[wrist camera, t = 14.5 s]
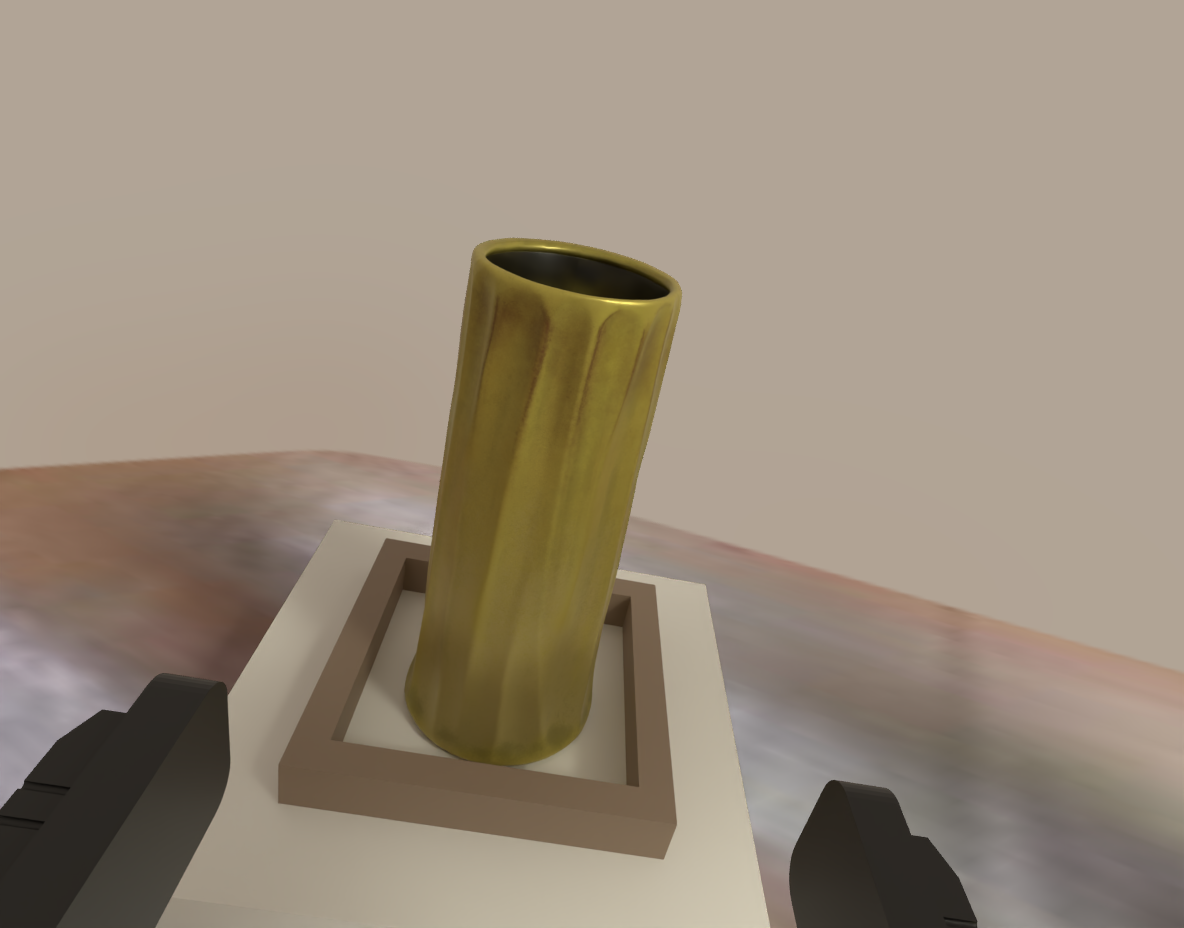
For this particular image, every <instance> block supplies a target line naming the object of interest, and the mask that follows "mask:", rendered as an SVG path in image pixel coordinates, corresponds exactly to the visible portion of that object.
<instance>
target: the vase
mask: <svg viewBox="0 0 1184 928" xmlns="http://www.w3.org/2000/svg"><path fill="white" fill-rule="evenodd" d="M681 298H682V290H681V288H680V286H679V284H678V282H677V281H676V280H675V279H674V278H672V277H671V276H669V275H668V274H666V273H664V272H662V271H660V270H658V269H656V268H654V267H652V266H650V265H648V264H646V263H644V262H641V261H638V260H635V259H632V258H629V257H626V256H623V255H620V254H616V253H613V252H609V251H606V250H602V249H597V248H593V247H588V246H583V245H578V244H573V243H566V242H560V241H551V240H541V239H526V238H505V239H497V240H489V241H486V242H483V243H480V244H479V245H477V246H476V248H475V249H474V250H473V254H472V258H471V268H470V273H469V279H468V285H467V291H466V297H465V304H464V311H463V319H462V326H461V334H460V344H459V353H458V362H457V370H456V378H455V385H454V392H453V398H452V403H451V409H450V415H449V422H448V429H447V436H446V443H445V450H444V457H443V465H442V471H441V478H440V485H439V491H438V499H437V506H436V513H435V521H434V528H433V535H432V542H431V549H430V557H429V565H428V573H427V582H426V591H425V608H424V613H423V618H422V624H421V630H420V635H419V640H418V645H417V651H416V654H415V656H414V658H413V660H412V662H411V664H410V667H409V670H408V673H407V676H406V681H405V690H404V692H405V700H406V704H407V707H408V710H409V712H410V714H411V716H412V718H413V719H414V721H415V723H416V724H417V725H418V727H419V728H420V729H421V731H422V732H423V733H424V734H425V735H426V736H427V737H428V738H429V739H430V740H431V741H432V742H433V743H435V744H436V745H438V746H439V747H441V748H442V749H444V750H445V751H447V752H449V753H451V754H453V755H455V756H458V757H460V758H463V759H466V760H468V761H472V762H478V763H485V764H491V765H498V766H514V765H523V764H529V763H533V762H537V761H540V760H543V759H546V758H548V757H550V756H552V755H554V754H556V753H557V752H559V751H561V750H563V749H564V748H565V747H567V746H568V745H569V744H570V743H571V742H573V741H574V740H575V739H576V738H577V737H578V735H579V734H580V733H581V731H582V729H583V727H584V725H585V723H586V721H587V718H588V715H589V712H590V708H591V702H592V687H593V676H594V668H595V662H596V657H597V652H598V647H599V643H600V638H601V633H602V628H603V624H604V620H605V616H606V613H607V609H608V605H609V602H610V598H611V595H612V591H613V587H614V583H615V579H616V575H617V570H618V566H619V561H620V557H621V552H622V548H623V543H624V539H625V534H626V530H627V526H628V521H629V516H630V512H631V507H632V502H633V497H634V493H635V488H636V482H637V477H638V473H639V470H640V466H641V462H642V459H643V455H644V452H645V449H646V445H647V442H648V438H649V434H650V430H651V426H652V422H653V418H654V413H655V410H656V406H657V402H658V397H659V393H660V390H661V385H662V381H663V377H664V373H665V369H666V365H667V361H668V357H669V353H670V349H671V344H672V340H673V336H674V332H675V327H676V323H677V319H678V316H679V312H680V306H681Z"/></svg>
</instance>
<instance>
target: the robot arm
mask: <svg viewBox="0 0 1184 928" xmlns="http://www.w3.org/2000/svg"><path fill="white" fill-rule="evenodd" d="M230 761H231V758H230V738H229V717H228V696H227V688H226V685H225V684H224V683H223V682H219V681H212V680H206V679H200V678H193V677H187V676H180V675H174V674H168V673H162V674H159V675H157V676H156V677H155V678H154V679H153V680H152V681H151V682H150V683H149V684H148V685H147V687H146V688H145V689H144V691H143V692H142V693H141V695H140V696H139V697H138V699H137V700H136V701H135V703H134V704H133V705H132V707H131V708H130V709H129V711H128V712H127V713H122V712H115V711H109V710H101V711H100V712H98V713H97V714H95V715H94V716H92V717H91V718H89V719H88V720H86V721H85V722H84V723H82V724H81V725H79V726H78V727H76V728H75V729H73V730H72V731H70V732H69V733H67V734H66V735H65V736H63V737H62V738H60V739H59V740H57V741H56V743H55V744H54V745H53V746H52V747H51V749H50V750H49V751H48V752H47V754H46V755H45V756H44V757H43V758H42V760H41V761H40V762H39V763H38V764H37V766H36V767H35V768H34V769H33V770H32V772H31V773H30V774H29V775H28V777H27V778H26V779H25V780H24V785H23V787H22V788H21V789H17V790H16V791H15V792H14V794H13V795H12V796H11V797H10V798H9V800H8V801H7V802H6V803H5V804H4V806H3V807H2V808H1V809H0V928H155V927H156V925H157V924H158V922H159V920H160V918H161V916H162V914H163V912H164V910H165V908H166V907H167V905H168V903H169V901H170V899H171V897H172V895H173V893H174V892H175V890H176V888H177V886H178V884H179V882H180V880H181V878H182V876H183V875H184V873H185V871H186V869H187V867H188V865H189V863H190V861H191V859H192V858H193V856H194V854H195V852H196V850H197V848H198V846H199V844H200V843H201V841H202V839H203V837H204V835H205V833H206V831H207V829H208V827H209V826H210V824H211V822H212V820H213V818H214V816H215V814H216V812H217V810H218V808H219V806H220V803H221V801H222V798H223V795H224V792H225V789H226V785H227V782H228V777H229V772H230ZM789 884H790V895H791V901H792V906H793V910H794V915H795V920H796V924H797V928H977V919H976V917H975V915H974V912H973V910H972V908H971V905H970V903H969V901H968V898H967V896H966V894H965V891H964V889H963V887H962V884H961V882H960V880H959V877H958V876H957V875H956V874H955V872H954V871H953V870H952V868H951V867H950V866H949V865H948V863H947V862H946V861H945V859H944V858H943V857H942V856H941V854H940V853H939V852H938V851H937V849H936V848H935V847H934V845H933V844H932V843H931V842H930V840H929V839H928V838H926V837H920V836H913V835H911V833H910V831H909V828H908V826H907V823H906V820H905V818H904V815H903V813H902V810H901V808H900V805H899V803H898V801H897V799H896V797H895V795H894V794H893V793H892V792H891V791H890V790H889V789H887V788H882V787H876V786H869V785H863V784H857V783H850V782H844V781H837V780H831V781H830V782H828V783H827V784H826V786H825V787H824V789H823V791H822V793H821V795H820V797H819V799H818V801H817V803H816V805H815V807H814V809H813V811H812V813H811V815H810V817H809V819H808V821H807V823H806V825H805V827H804V829H803V831H802V833H801V835H800V837H799V839H798V841H797V843H796V845H795V847H794V850H793V853H792V857H791V863H790V873H789Z"/></svg>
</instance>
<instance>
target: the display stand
mask: <svg viewBox="0 0 1184 928" xmlns="http://www.w3.org/2000/svg"><path fill="white" fill-rule="evenodd" d="M431 542H432V537H431V536H425V535H420V534H414V533H408V532H402V531H397V530H391V529H385V528H380V527H374V526H368V525H362V524H357V523H351V522H345V521H340V520H334V522H333V524H332V525H331V527H330V529H329V530H328V532H327V534H326V535H325V537H324V539H323V540H322V542H321V543H320V545H319V547H318V548H317V550H316V552H315V553H314V555H313V557H312V558H311V560H310V562H309V563H308V565H307V566H306V568H305V570H304V571H303V573H302V575H301V576H300V578H299V580H298V581H297V583H296V585H295V586H294V588H293V590H292V591H291V593H290V594H289V596H288V598H287V599H286V601H285V603H284V604H283V606H282V608H281V609H280V611H279V613H278V614H277V616H276V618H275V619H274V621H273V622H272V624H271V626H270V627H269V629H268V631H267V632H266V634H265V636H264V637H263V639H262V641H261V642H260V644H259V645H258V647H257V649H256V650H255V652H254V654H253V655H252V657H251V659H250V660H249V662H248V664H247V665H246V667H245V669H244V670H243V672H242V673H241V675H240V677H239V678H238V680H237V682H236V683H235V685H234V687H233V688H232V690H231V692H230V693H229V695H228V717H229V738H230V758H231V761H230V772H229V777H228V782H227V785H226V789H225V792H224V795H223V798H222V801H221V803H220V806H219V808H218V810H217V812H216V814H215V816H214V818H213V820H212V822H211V824H210V826H209V827H208V829H207V831H206V833H205V835H204V837H203V839H202V841H201V843H200V844H199V846H198V848H197V850H196V852H195V854H194V856H193V858H192V859H191V861H190V863H189V865H188V867H187V869H186V871H185V873H184V875H183V876H182V878H181V880H180V882H179V884H178V886H177V888H176V890H175V892H174V893H173V895H172V897H171V899H170V901H169V903H168V905H167V907H166V908H165V910H164V912H163V914H162V916H161V918H160V920H159V922H158V924H157V925H156V927H155V928H770V925H769V919H768V914H767V909H766V903H765V898H764V893H763V887H762V882H761V877H760V872H759V866H758V861H757V856H756V850H755V845H754V840H753V834H752V829H751V824H750V819H749V813H748V808H747V803H746V797H745V792H744V787H743V781H742V776H741V771H740V766H739V760H738V755H737V750H736V744H735V739H734V734H733V728H732V723H731V718H730V713H729V707H728V702H727V697H726V691H725V686H724V681H723V675H722V670H721V665H720V660H719V654H718V649H717V644H716V638H715V633H714V628H713V622H712V617H711V612H710V607H709V601H708V596H707V591H706V585H705V584H699V583H693V582H688V581H682V580H676V579H671V578H665V577H659V576H653V575H648V574H642V573H636V572H631V571H625V570H619V569H618V570H617V575H616V579H615V583H614V587H613V591H612V595H611V598H610V602H609V605H608V609H607V613H606V616H605V620H604V624H603V628H602V633H601V638H600V643H599V647H598V652H597V657H596V662H595V668H594V676H593V687H592V702H591V708H590V712H589V715H588V718H587V721H586V723H585V725H584V727H583V729H582V731H581V733H580V734H579V735H578V737H577V738H576V739H575V740H574V741H573V742H571V743H570V744H569V745H568V746H567V747H565V748H564V749H563V750H561V751H559V752H557V753H556V754H554V755H552V756H550V757H548V758H546V759H543V760H540V761H537V762H533V763H529V764H523V765H514V766H498V765H491V764H485V763H478V762H472V761H468V760H466V759H463V758H460V757H458V756H455V755H453V754H451V753H449V752H447V751H445V750H444V749H442V748H441V747H439V746H438V745H436V744H435V743H433V742H432V741H431V740H430V739H429V738H428V737H427V736H426V735H425V734H424V733H423V732H422V731H421V729H420V728H419V727H418V725H417V724H416V723H415V721H414V719H413V718H412V716H411V714H410V712H409V710H408V707H407V704H406V700H405V692H404V690H405V681H406V676H407V673H408V670H409V667H410V664H411V662H412V660H413V658H414V656H415V654H416V651H417V645H418V640H419V635H420V630H421V624H422V618H423V613H424V608H425V591H426V582H427V573H428V565H429V557H430V549H431Z"/></svg>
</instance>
